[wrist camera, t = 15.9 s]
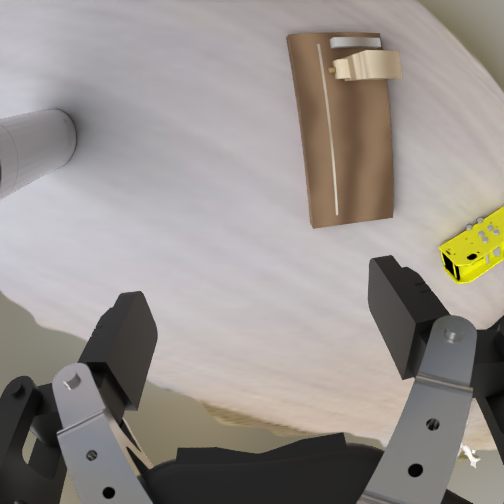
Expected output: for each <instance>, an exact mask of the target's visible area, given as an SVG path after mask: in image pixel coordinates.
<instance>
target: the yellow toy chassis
mask: <svg viewBox="0 0 504 504" xmlns="http://www.w3.org/2000/svg"><path fill="white" fill-rule="evenodd" d="M477 222H478V223H477V224H475V225H474V226H472V225H467V226H466V229H467V230H466V231H464V232H463V233H461V234H459V235H458V236H456V237H455V238H453V239H451V240H450V241H448V242H446V243H445V244H443V245H441V246H440V247H438V248H439V249H440V250H441V256H442V260H443V264H444V265H445V267H444V268H443V269H444V270H445V271H446V272H447V274H448V275H449V276H450V277H451V278H452V279H453V280H454V281H455V282H456V283H457V284H462V283H470V282H471V281H473V280H474V279H476V278H477V277H479V276H480V275H482V274H483V273H485V272H486V271H488V270H489V269H491V268H492V267H494V266H495V265H497V264H498V263H499V262H501V261H502V260H504V207H501V208H500V209H498V210H497V211H495V212H494V213H492V214H491V215H489V216H488V217H486V218H485V219H483V218H478V219H477Z"/></svg>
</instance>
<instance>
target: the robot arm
mask: <svg viewBox="0 0 504 504" xmlns="http://www.w3.org/2000/svg"><path fill="white" fill-rule="evenodd" d="M75 146H76V130H75V127H74V124H73V122H72V120H71V119H70V117H69V116H68V115H67V114H66V113H64V112H63V111H60V110H58V109H50V110H44V111H38V112H32V113H27V114H22V115H17V116H13V117H8V118H4V119H0V200H1V199H3V198H5V197H6V196H8V195H9V194H11V193H13V192H15V191H16V190H18V189H20V188H22V187H24V186H25V185H27V184H29V183H31V182H33V181H35V180H36V179H38V178H40V177H42V176H44V175H46V174H48V173H50V172H52V171H54V170H56V169H58V168H60V167H62V166H63V165H65V164H66V163H67V162H68V161H69V160H70V158H71V157H72V155H73V153H74V150H75ZM368 303H369V308H370V312H371V314H372V316H373V318H374V320H375V322H376V324H377V326H378V328H379V330H380V332H381V334H382V336H383V339H384V341H385V343H386V345H387V347H388V349H389V351H390V353H391V356H392V358H393V360H394V362H395V364H396V367H397V369H398V371H399V373H400V375H401V378H402V380H404V379H408V378H412V377H414V378H415V381H414V383H413V386H412V389H411V391H410V394H409V397H408V399H407V402H406V404H405V407H404V409H403V412H402V414H401V417H400V419H399V421H398V424H397V426H396V428H395V430H394V433H393V435H392V437H391V439H390V441H389V444H388V446H387V448H386V450H385V451H383V450H381V449H378V448H376V447H373V446H368V445H364V444H358V443H346V441H345V437H344V433H343V432H342V433H337V434H332V435H326V436H321V437H315V438H308V439H302V440H299V441H297V442H294V443H291V444H288V445H285V446H282V447H280V448H277V449H274V450H271V451H268V452H264V453H260V454H255V453H247V452H240V451H235V450H229V449H222V448H217V447H213V448H212V447H211V448H178V450H177V457H176V459H172V460H169V461H166V462H163V463H161V464H159V465H156V466H153V465H152V464H151V463H150V461H149V460H148V458H147V457H146V455H145V454H144V452H143V450H142V449H141V447H140V445H139V444H138V442H137V440H136V438H135V437H134V435H133V433H132V431H131V429H130V428H129V426H128V424H127V422H126V421H125V419H124V418H123V415H124V411H125V410H131V411H137V410H138V407H139V402H140V398H141V395H142V391H143V388H144V384H145V381H146V377H147V374H148V370H149V367H150V363H151V360H152V356H153V353H154V350H155V346H156V343H157V338H158V333H157V327H156V324H155V321H154V319H153V316H152V314H151V311H150V309H149V306H148V304H147V301H146V299H145V296H144V294H143V293H142V292H141V291H135V292H127V293H121V294H120V295H119V297H118V299H117V301H116V302H115V304H114V306H113V308H110V309H109V310H108V311H107V312H106V313H105V314H104V315H102V316H101V318H100V320H99V322H98V323H97V325H96V329H94V331H93V333H92V337H90V339H89V341H88V343H87V345H86V347H85V349H84V350H83V353H82V354H81V356H80V359H79V361H78V363H73V364H70V365H67V366H65V367H64V368H62V369H61V370H60V371H59V372H58V373H57V374H56V376H55V377H54V379H53V383H50V384H46V385H41V386H36V384H35V383H34V382H33V380H32V379H31V378H29V377H28V376H20V377H17V378H16V379H14V380H12V381H11V382H10V383H9V384H8V385H7V386H6V388H5V390H4V392H3V393H2V395H1V398H0V504H59V503H60V498H61V493H62V489H63V485H64V481H65V477H66V472H67V469H68V471H69V474H70V477H71V480H72V483H73V485H74V488H75V490H76V493H77V495H78V498H79V500H80V503H81V504H473V503H471V502H469V501H467V500H466V499H464V498H462V497H460V496H458V495H457V494H455V493H453V492H451V491H450V490H448V489H446V488H447V485H448V482H449V480H450V477H451V474H452V471H453V468H454V465H455V462H456V459H457V456H458V452H459V449H460V445H461V442H462V438H463V435H464V431H465V427H466V423H467V419H468V414H469V410H470V405H471V400H472V398H476V400H477V402H478V404H479V407H480V409H481V411H482V413H483V415H484V418H485V420H486V422H487V424H488V427H489V429H490V432H491V434H492V436H493V439H494V441H495V444H496V446H497V449H498V451H499V454H500V456H501V459H502V462H503V465H504V317H503V318H502V320H501V321H500V324H499V327H498V329H488V330H476V328H475V327H474V325H473V324H472V323H471V322H470V321H468V320H467V319H465V318H463V317H460V316H455V315H450V314H449V312H448V311H447V310H446V308H445V307H444V306H443V304H442V303H441V302H440V300H439V299H438V298H437V296H436V295H435V294H434V293H433V291H431V289H430V287H429V286H428V285H427V284H425V281H424V280H423V279H422V277H421V276H420V275H419V274H418V273H417V272H415V271H413V270H412V269H410V268H408V267H403V268H402V267H401V266H400V265H399V264H398V262H397V261H396V260H395V258H394V257H393V256H392V255H389V256H383V257H377V258H372V259H371V260H370V263H369V284H368ZM29 430H30V431H31V432H32V433H33V434H34V435H35V436H36V437H37V439H36V442H35V445H34V448H33V451H32V454H31V457H30V460H29V463H28V464H26V463H25V461H24V459H23V456H22V448H23V446H24V443H25V440H26V437H27V435H28V432H29ZM503 504H504V503H503Z"/></svg>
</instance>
